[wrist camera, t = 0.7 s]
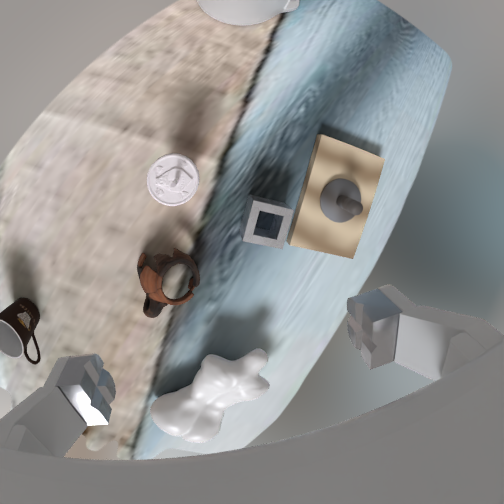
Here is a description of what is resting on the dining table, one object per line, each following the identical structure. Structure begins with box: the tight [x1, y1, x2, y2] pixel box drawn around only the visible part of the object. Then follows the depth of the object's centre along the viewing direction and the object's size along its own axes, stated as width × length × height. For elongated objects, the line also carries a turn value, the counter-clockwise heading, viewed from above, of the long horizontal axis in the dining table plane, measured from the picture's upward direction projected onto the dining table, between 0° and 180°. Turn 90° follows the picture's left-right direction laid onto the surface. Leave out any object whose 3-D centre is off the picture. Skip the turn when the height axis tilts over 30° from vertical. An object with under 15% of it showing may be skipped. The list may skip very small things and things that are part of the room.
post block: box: [287, 134, 385, 259], centre depth 44 cm, size 18×12×8 cm, turn 165°
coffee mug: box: [0, 298, 40, 364], centre depth 43 cm, size 12×9×10 cm
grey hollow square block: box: [239, 194, 294, 249], centre depth 45 cm, size 6×6×5 cm
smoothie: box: [147, 153, 199, 206], centre depth 37 cm, size 6×6×14 cm
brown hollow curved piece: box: [137, 248, 200, 318], centre depth 46 cm, size 12×10×8 cm
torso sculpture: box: [150, 348, 270, 443], centre depth 54 cm, size 16×11×30 cm
